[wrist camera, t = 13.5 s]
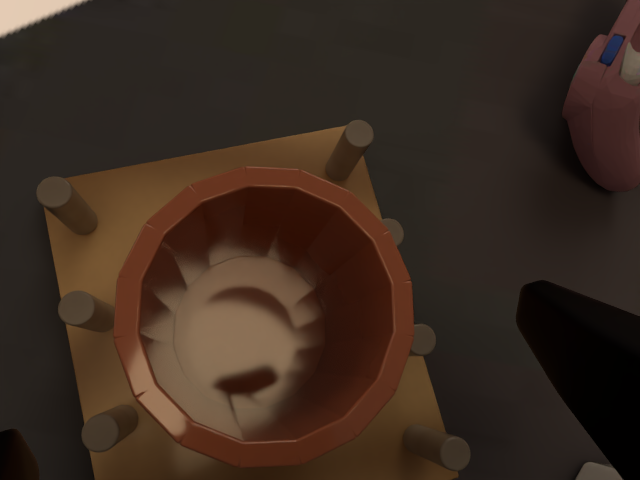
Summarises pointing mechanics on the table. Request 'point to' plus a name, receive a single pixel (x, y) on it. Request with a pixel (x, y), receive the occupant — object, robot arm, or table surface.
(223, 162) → the dish rack
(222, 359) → the cup
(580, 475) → the jar
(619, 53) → the video game controller
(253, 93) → the table surface
